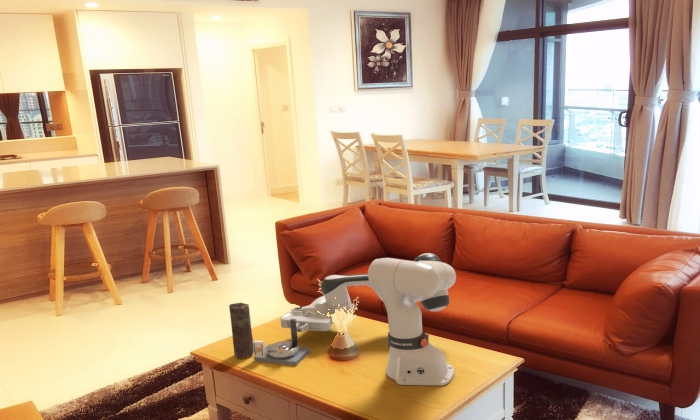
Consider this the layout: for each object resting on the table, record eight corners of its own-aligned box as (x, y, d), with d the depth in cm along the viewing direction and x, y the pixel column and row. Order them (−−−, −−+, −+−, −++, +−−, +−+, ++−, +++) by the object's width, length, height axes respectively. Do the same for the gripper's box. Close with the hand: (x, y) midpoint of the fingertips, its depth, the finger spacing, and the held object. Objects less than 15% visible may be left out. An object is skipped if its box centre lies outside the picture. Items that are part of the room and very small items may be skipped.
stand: (310, 351, 214) (308, 332, 212) (295, 366, 202) (293, 346, 201) (269, 347, 220) (268, 329, 218) (253, 362, 208) (251, 342, 206)
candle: (232, 353, 216) (227, 303, 213) (251, 349, 219) (246, 299, 216) (237, 361, 210) (231, 309, 206) (256, 356, 213) (251, 305, 209)
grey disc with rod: (304, 347, 214) (301, 316, 212) (290, 360, 203) (288, 328, 201) (276, 344, 218) (273, 314, 216) (261, 357, 207) (259, 326, 205)
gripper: (337, 326, 223) (324, 340, 210) (290, 322, 230) (274, 335, 217) (336, 310, 222) (323, 324, 209) (289, 307, 229) (273, 320, 216)
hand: (298, 330), depth 213 cm, fingers closed
